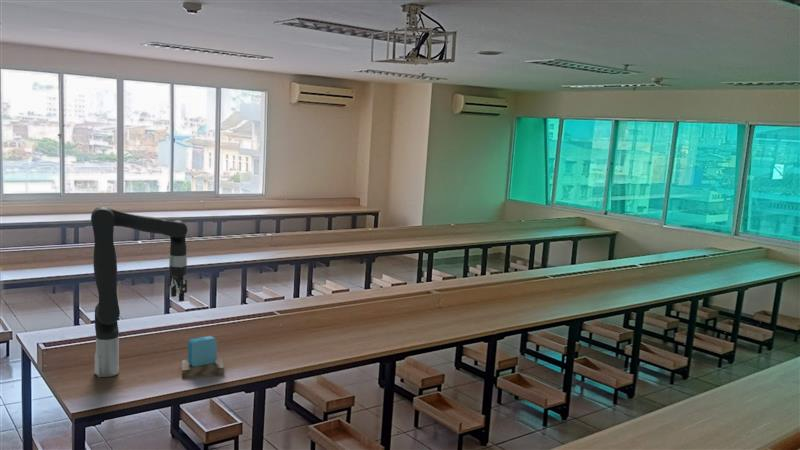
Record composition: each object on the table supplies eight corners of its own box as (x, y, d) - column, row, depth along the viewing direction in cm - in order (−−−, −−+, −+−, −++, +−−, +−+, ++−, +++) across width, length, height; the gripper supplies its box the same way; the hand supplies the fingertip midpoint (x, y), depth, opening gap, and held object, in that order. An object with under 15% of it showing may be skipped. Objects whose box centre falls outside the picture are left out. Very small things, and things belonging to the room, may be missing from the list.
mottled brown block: (181, 378, 292) (181, 370, 291) (181, 368, 303) (182, 360, 302) (223, 376, 298) (223, 367, 297) (221, 366, 309) (221, 358, 308)
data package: (212, 359, 306) (212, 335, 304) (216, 362, 302) (217, 337, 301) (187, 364, 298) (188, 339, 296) (191, 367, 295) (192, 342, 293)
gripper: (163, 261, 297) (163, 296, 300) (176, 268, 287) (176, 303, 289) (179, 260, 302) (179, 294, 305) (192, 266, 292) (192, 301, 294)
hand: (177, 298), depth 297 cm, fingers open, 8 cm apart
